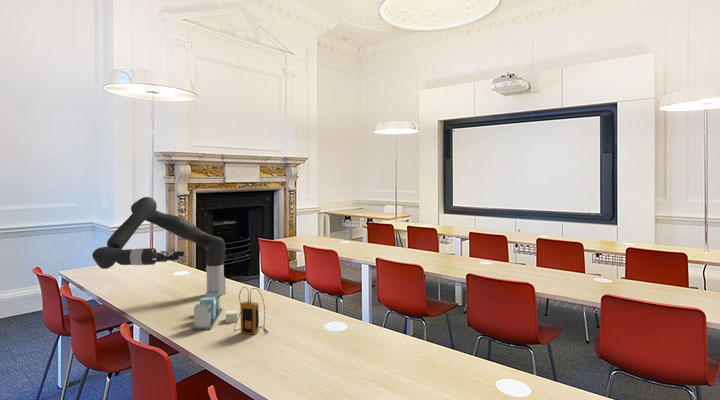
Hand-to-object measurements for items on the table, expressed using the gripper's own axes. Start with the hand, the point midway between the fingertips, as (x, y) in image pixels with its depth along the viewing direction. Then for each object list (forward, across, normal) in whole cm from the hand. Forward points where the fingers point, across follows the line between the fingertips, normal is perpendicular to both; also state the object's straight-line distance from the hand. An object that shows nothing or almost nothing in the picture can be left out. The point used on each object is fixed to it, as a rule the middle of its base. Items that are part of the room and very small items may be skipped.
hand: (181, 255), depth 182 cm
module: (+12, -2, +29) cm, 32 cm away
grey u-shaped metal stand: (+12, -2, +30) cm, 32 cm away
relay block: (+23, -4, +30) cm, 38 cm away
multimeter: (+34, -18, +31) cm, 49 cm away
